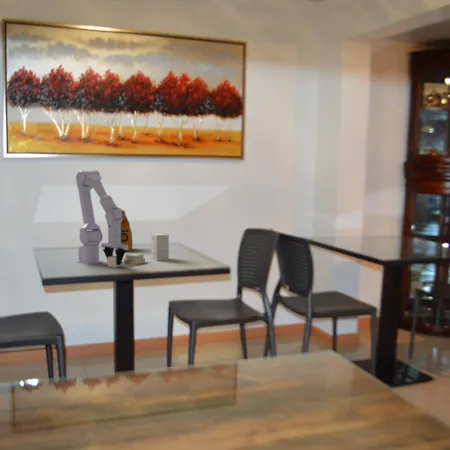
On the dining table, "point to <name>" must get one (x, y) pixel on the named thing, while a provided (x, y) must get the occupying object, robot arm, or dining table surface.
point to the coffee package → (126, 232)
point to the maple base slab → (134, 261)
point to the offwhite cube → (113, 261)
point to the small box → (160, 247)
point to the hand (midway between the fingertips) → (114, 264)
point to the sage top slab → (134, 256)
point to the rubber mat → (127, 265)
